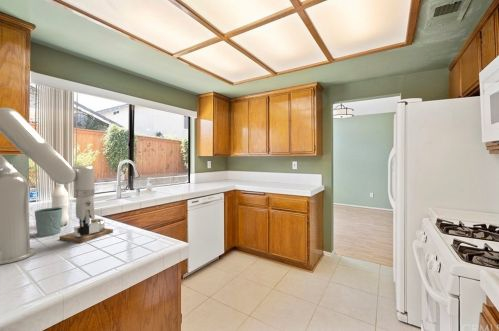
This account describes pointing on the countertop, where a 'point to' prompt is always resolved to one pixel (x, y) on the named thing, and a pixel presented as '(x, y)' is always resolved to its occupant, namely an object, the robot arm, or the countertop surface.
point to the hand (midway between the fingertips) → (84, 234)
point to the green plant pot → (48, 221)
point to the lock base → (85, 238)
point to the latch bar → (91, 228)
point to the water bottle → (61, 202)
